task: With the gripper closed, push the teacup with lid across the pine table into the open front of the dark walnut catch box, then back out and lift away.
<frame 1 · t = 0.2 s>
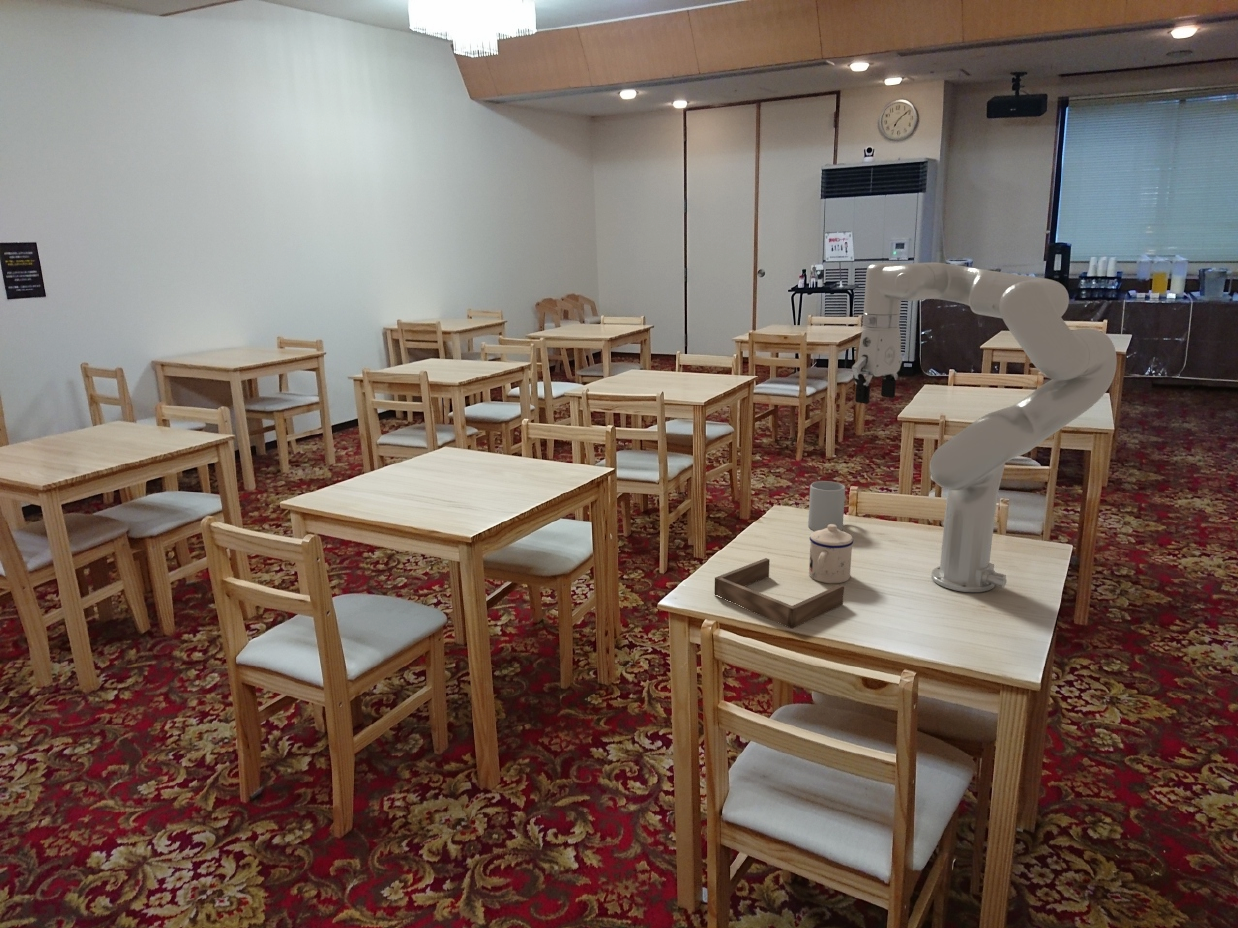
hand: (875, 399, 188), 36 cm above the table, tool pointing down, fingers open, 9 cm apart
catch box: (777, 599, 172), on the table
teacup with lid: (827, 579, 182), on the table
mug: (829, 526, 215), on the table
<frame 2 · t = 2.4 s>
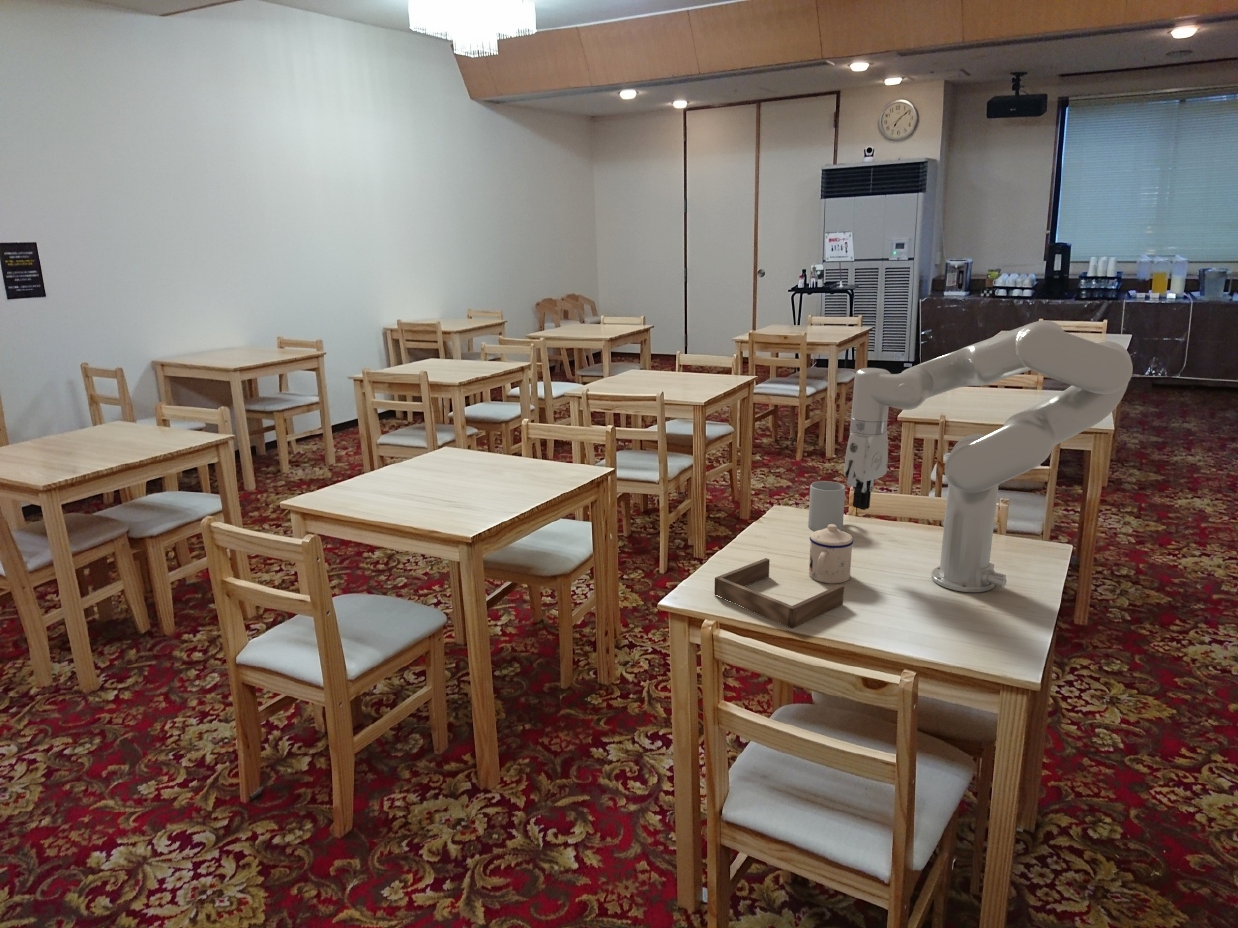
hand: (860, 507, 187), 13 cm above the table, tool pointing down, fingers closed
nothing on the table moved.
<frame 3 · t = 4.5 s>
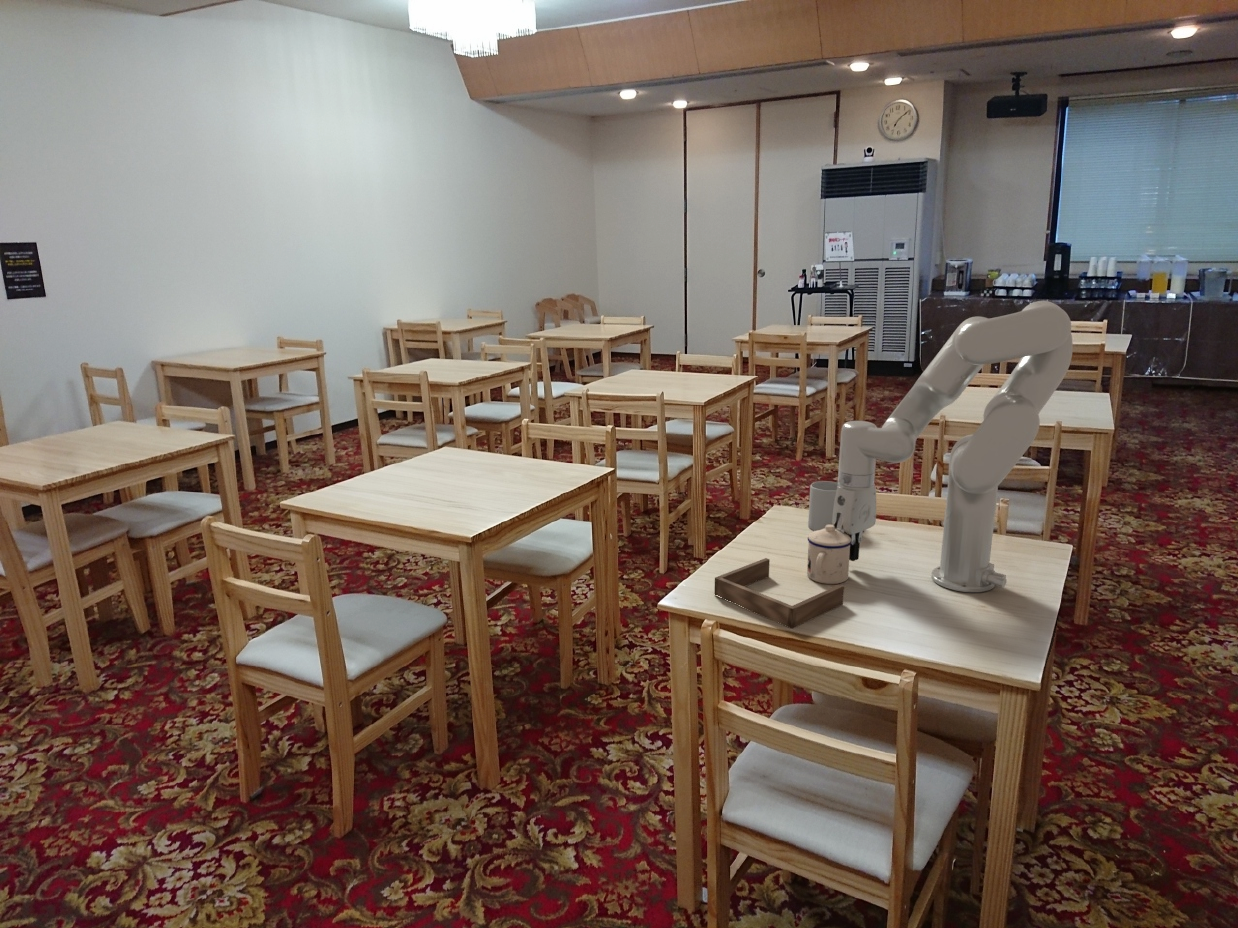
hand: (850, 558, 187), 2 cm above the table, tool pointing down, fingers closed
teacup with lid: (825, 579, 182), on the table, touching gripper
everything else where it was.
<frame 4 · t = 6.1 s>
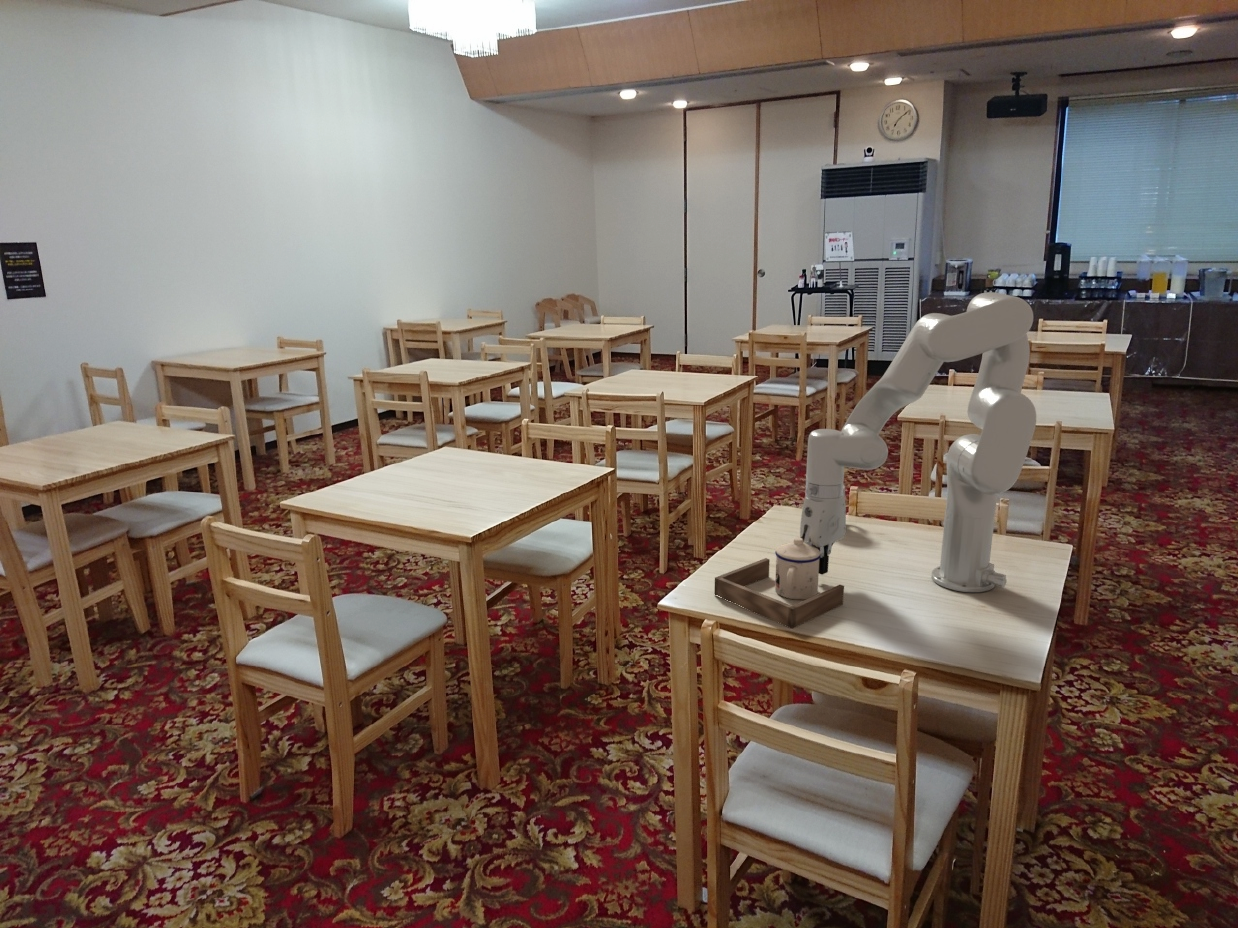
hand: (819, 571, 180), 2 cm above the table, tool pointing down, fingers closed
teacup with lid: (794, 595, 175), on the table, touching gripper
everything else where it was.
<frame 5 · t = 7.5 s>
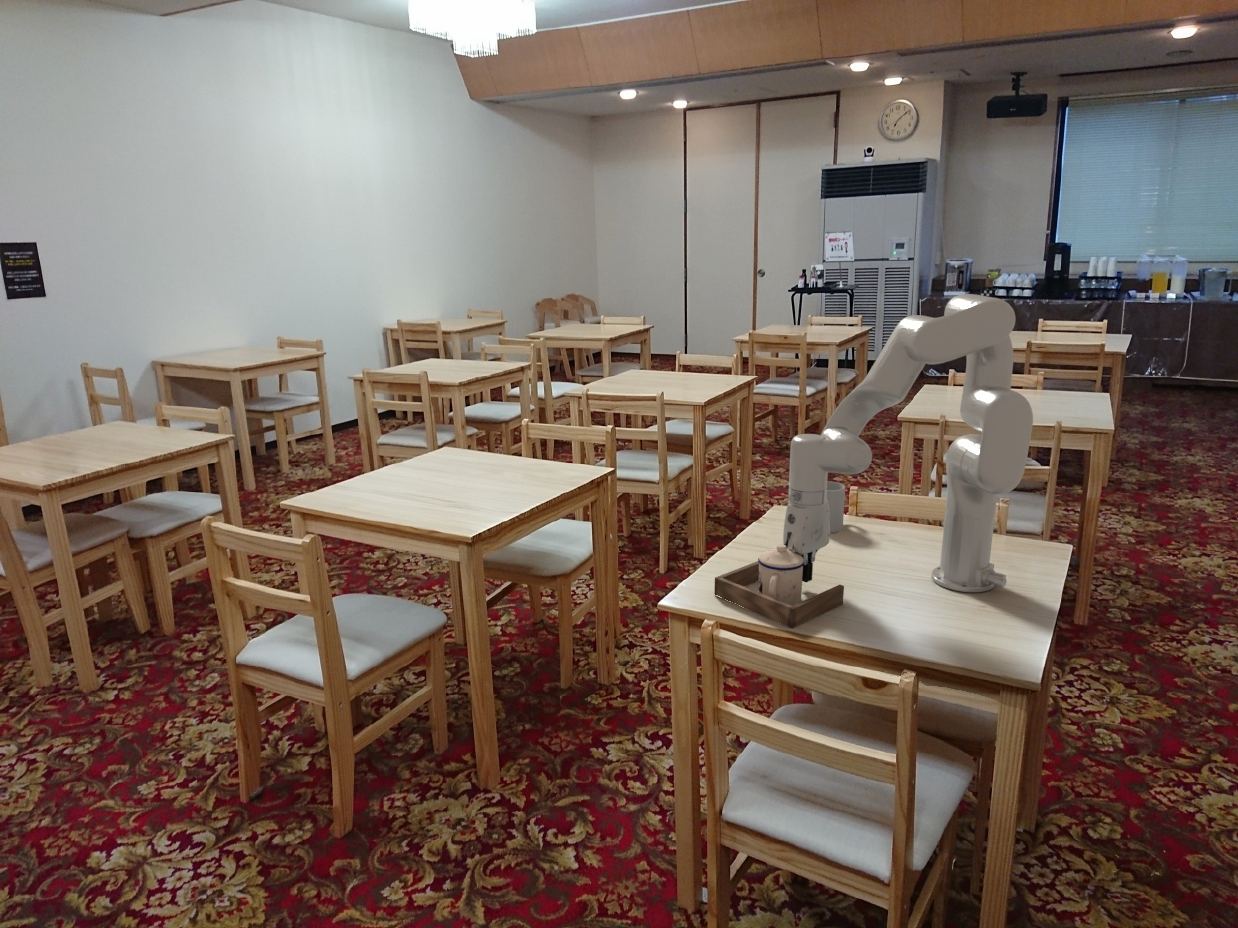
hand: (803, 579, 177), 2 cm above the table, tool pointing down, fingers closed
teacup with lid: (777, 603, 171), on the table, touching gripper
everything else where it was.
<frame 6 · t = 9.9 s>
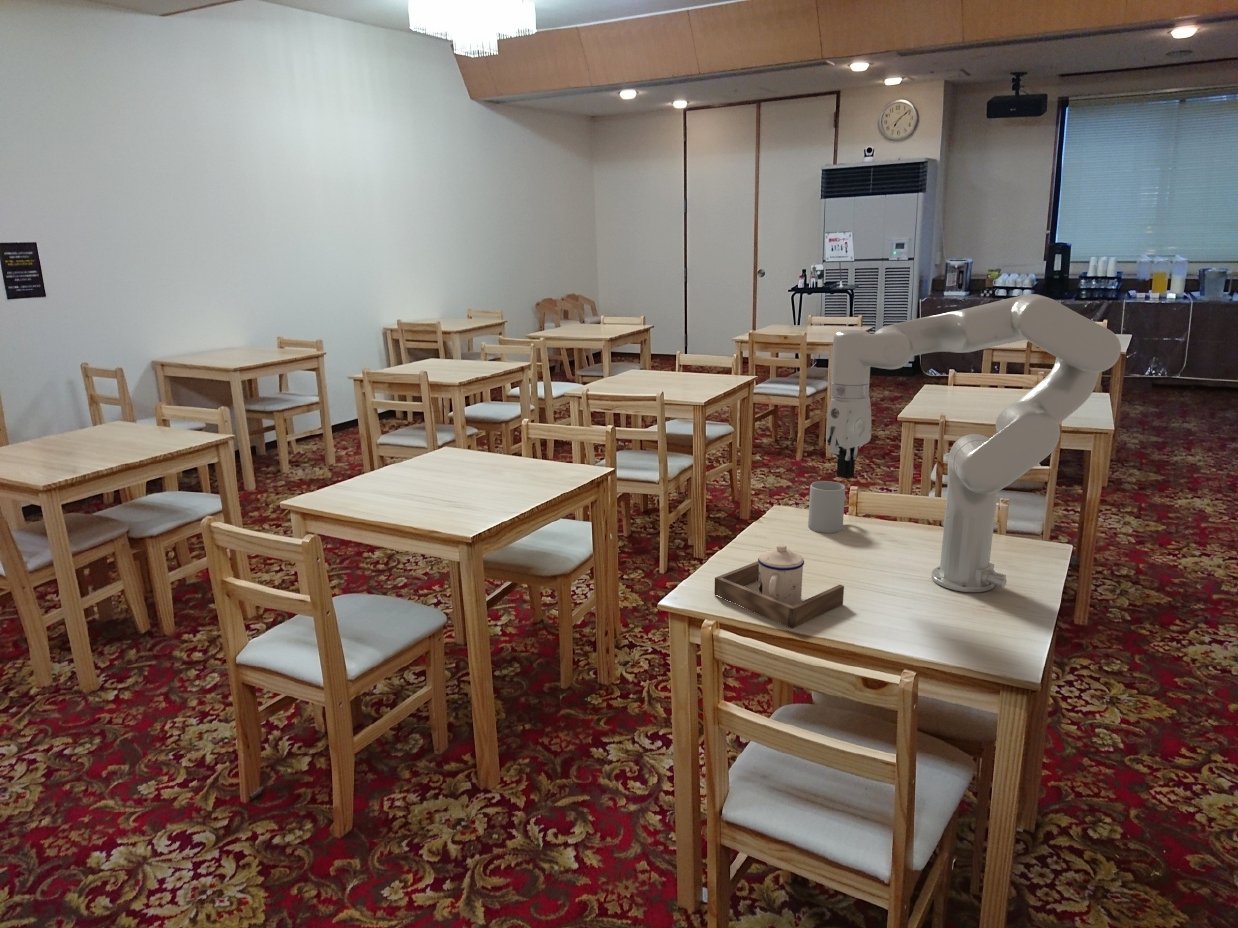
hand: (845, 476, 179), 22 cm above the table, tool pointing down, fingers closed
teacup with lid: (777, 603, 171), on the table
everything else where it was.
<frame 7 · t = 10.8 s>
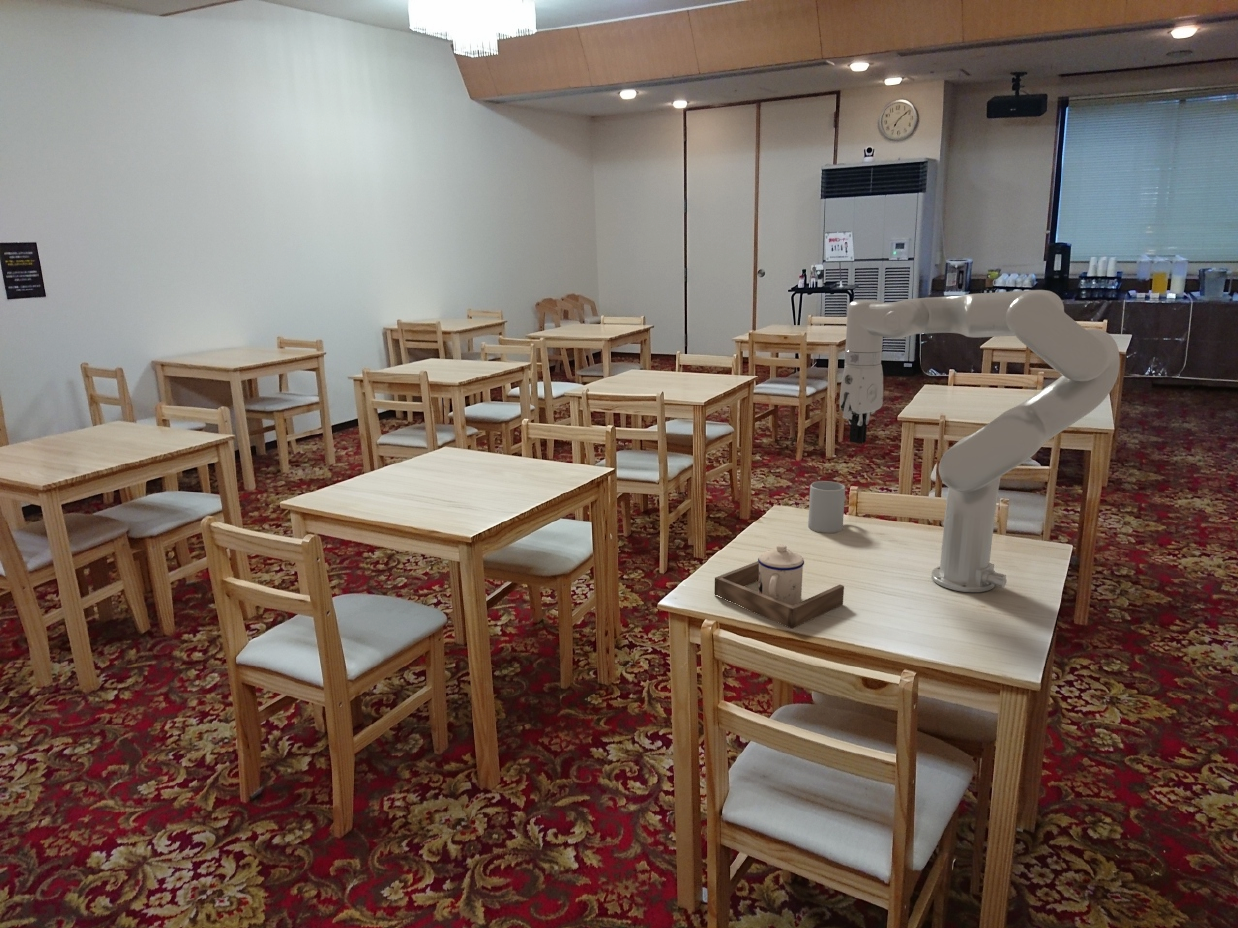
hand: (857, 441, 187), 27 cm above the table, tool pointing down, fingers closed
nothing on the table moved.
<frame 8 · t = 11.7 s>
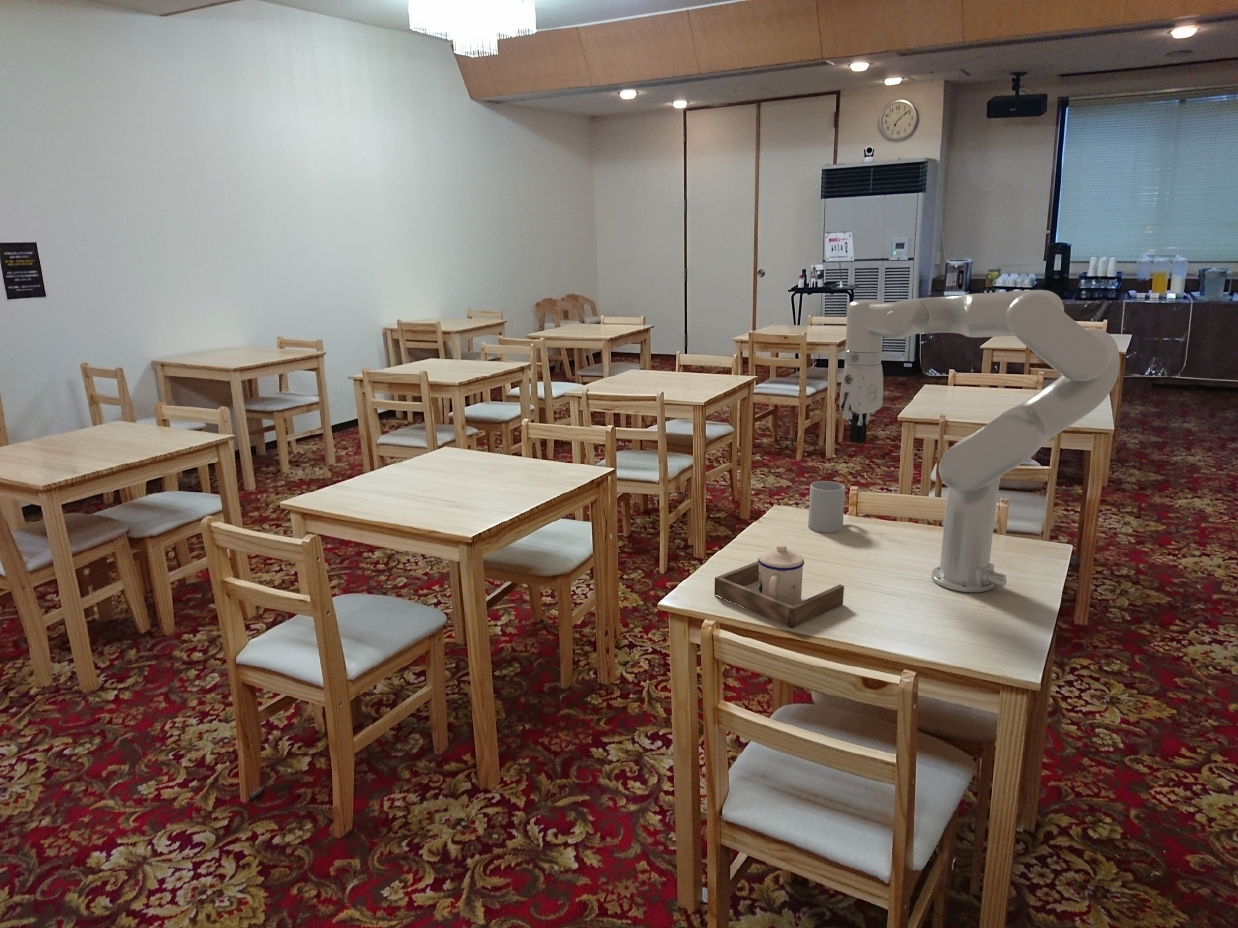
hand: (857, 441, 187), 27 cm above the table, tool pointing down, fingers closed
nothing on the table moved.
at the end: teacup with lid inside the target area on the catch box (0.9 cm from its centre), point 0.0 cm above the catch box's base; teacup with lid tilted 0°; the gripper is holding nothing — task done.
